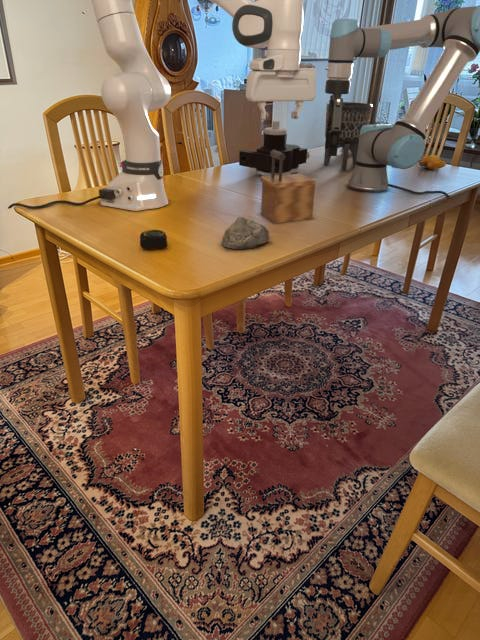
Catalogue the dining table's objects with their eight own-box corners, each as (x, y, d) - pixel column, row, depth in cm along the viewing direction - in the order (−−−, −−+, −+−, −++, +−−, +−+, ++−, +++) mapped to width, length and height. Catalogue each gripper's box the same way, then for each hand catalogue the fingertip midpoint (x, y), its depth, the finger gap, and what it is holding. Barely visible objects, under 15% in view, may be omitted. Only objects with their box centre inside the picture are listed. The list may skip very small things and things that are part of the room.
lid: (274, 188, 132) (275, 155, 127) (260, 180, 139) (261, 149, 135) (315, 184, 137) (318, 152, 132) (299, 177, 144) (302, 146, 140)
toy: (420, 162, 205) (414, 155, 217) (422, 176, 207) (416, 168, 220) (446, 154, 201) (438, 147, 214) (448, 168, 204) (440, 161, 217)
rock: (255, 233, 128) (256, 211, 124) (276, 242, 122) (278, 219, 119) (217, 244, 120) (217, 220, 117) (239, 254, 115) (239, 230, 111)
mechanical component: (240, 120, 182) (283, 115, 202) (239, 174, 192) (280, 164, 212) (283, 126, 170) (325, 120, 190) (280, 183, 180) (320, 171, 200)
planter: (313, 167, 208) (319, 103, 195) (331, 160, 222) (338, 101, 209) (353, 173, 199) (362, 107, 185) (369, 166, 213) (379, 104, 199)
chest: (274, 223, 138) (276, 188, 132) (261, 214, 145) (262, 180, 140) (312, 218, 142) (315, 184, 137) (297, 210, 150) (299, 177, 144)
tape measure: (140, 252, 115) (139, 238, 113) (141, 242, 120) (140, 229, 119) (167, 251, 116) (166, 237, 114) (167, 241, 121) (166, 228, 120)
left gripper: (310, 63, 127) (306, 116, 134) (244, 61, 120) (242, 118, 127) (322, 63, 122) (317, 119, 129) (253, 62, 115) (252, 121, 122)
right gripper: (323, 77, 150) (316, 145, 161) (329, 80, 128) (321, 158, 139) (346, 78, 149) (338, 145, 160) (356, 81, 128) (346, 159, 139)
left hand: (279, 119), depth 128 cm, fingers open, 8 cm apart
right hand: (330, 152), depth 150 cm, fingers open, 13 cm apart
